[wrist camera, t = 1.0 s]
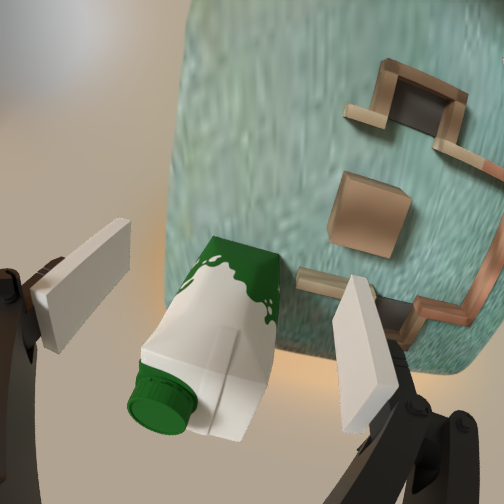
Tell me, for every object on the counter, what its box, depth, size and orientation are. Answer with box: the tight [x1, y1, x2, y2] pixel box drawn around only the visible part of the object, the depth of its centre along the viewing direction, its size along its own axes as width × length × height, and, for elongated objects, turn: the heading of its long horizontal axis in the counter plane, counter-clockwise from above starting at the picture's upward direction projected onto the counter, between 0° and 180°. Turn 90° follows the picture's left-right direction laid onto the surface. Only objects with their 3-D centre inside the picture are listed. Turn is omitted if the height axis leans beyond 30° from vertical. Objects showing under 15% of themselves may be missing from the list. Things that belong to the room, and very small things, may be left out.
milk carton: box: [127, 236, 280, 442], centre depth 27 cm, size 9×9×20 cm
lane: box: [296, 104, 504, 327], centre depth 29 cm, size 18×23×2 cm
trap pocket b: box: [375, 295, 427, 352], centre depth 35 cm, size 5×8×2 cm, turn 78°
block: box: [327, 171, 412, 258], centre depth 29 cm, size 6×6×4 cm
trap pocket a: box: [369, 58, 468, 144], centre depth 24 cm, size 5×8×2 cm, turn 78°
